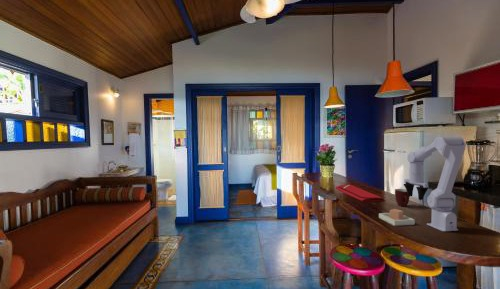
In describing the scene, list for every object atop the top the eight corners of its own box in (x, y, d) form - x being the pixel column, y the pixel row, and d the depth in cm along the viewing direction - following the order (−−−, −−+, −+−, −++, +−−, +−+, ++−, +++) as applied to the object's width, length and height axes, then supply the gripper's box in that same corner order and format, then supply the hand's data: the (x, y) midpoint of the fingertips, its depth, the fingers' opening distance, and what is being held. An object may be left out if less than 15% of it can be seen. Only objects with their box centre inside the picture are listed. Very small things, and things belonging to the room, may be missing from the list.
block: (403, 220, 129) (403, 210, 129) (398, 222, 127) (398, 212, 127) (394, 218, 133) (394, 208, 133) (389, 219, 131) (389, 210, 131)
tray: (414, 224, 125) (414, 219, 125) (394, 225, 123) (394, 220, 123) (397, 216, 137) (397, 212, 137) (378, 218, 135) (378, 213, 135)
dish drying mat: (362, 202, 168) (362, 197, 168) (334, 189, 209) (334, 185, 209) (384, 201, 170) (384, 196, 170) (352, 188, 211) (352, 184, 211)
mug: (415, 209, 151) (415, 192, 150) (401, 209, 151) (401, 192, 150) (404, 204, 161) (405, 188, 161) (392, 204, 161) (392, 188, 161)
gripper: (433, 175, 133) (432, 200, 134) (412, 171, 147) (411, 194, 148) (421, 176, 132) (420, 201, 133) (401, 172, 146) (400, 195, 147)
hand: (415, 197), depth 140 cm, fingers open, 7 cm apart
